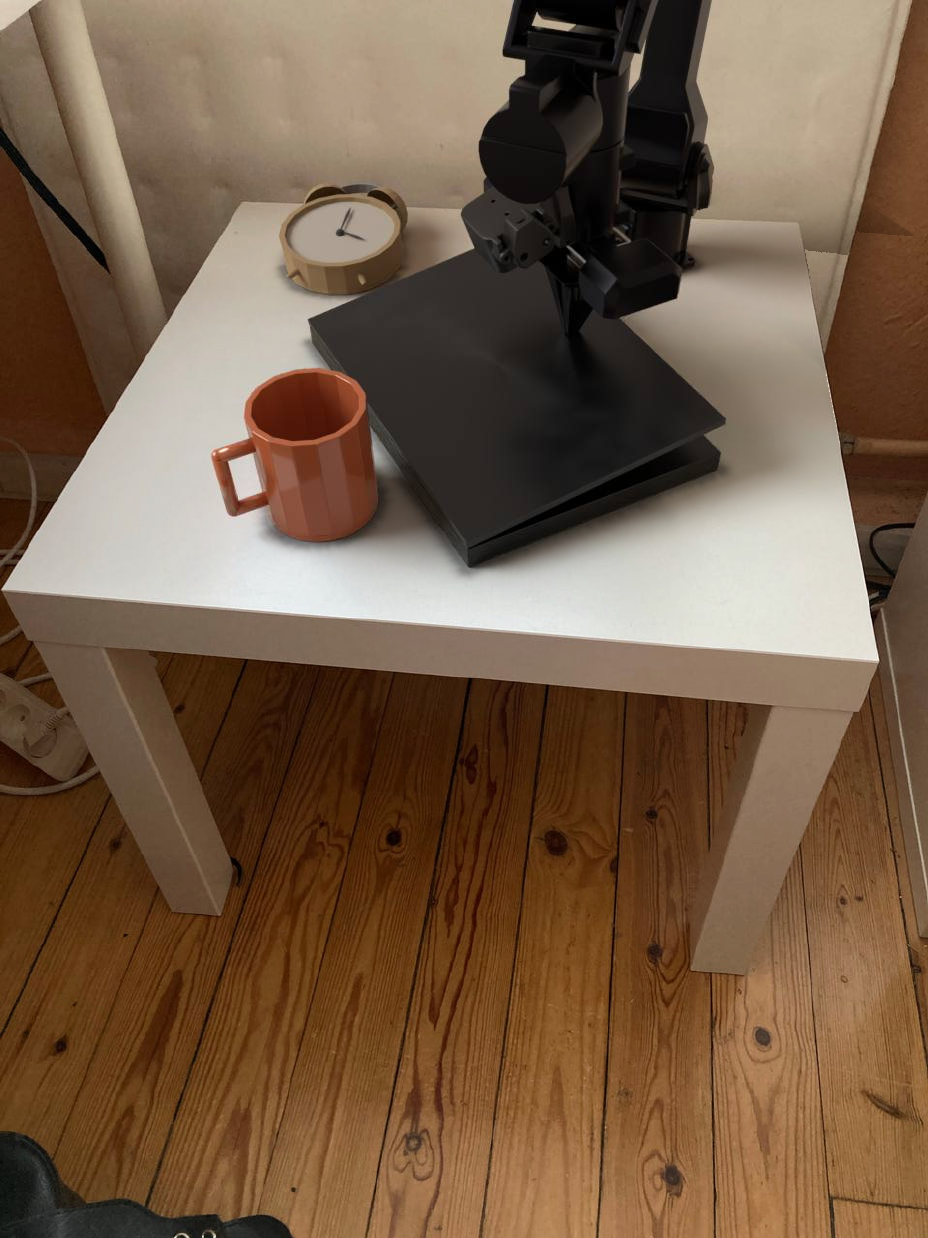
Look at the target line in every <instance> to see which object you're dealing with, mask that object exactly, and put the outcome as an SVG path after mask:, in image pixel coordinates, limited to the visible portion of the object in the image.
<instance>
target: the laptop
mask: <svg viewBox="0 0 928 1238" xmlns="http://www.w3.org/2000/svg"><path fill="white" fill-rule="evenodd" d="M309 332H310V337H311V342H312V343H311V344H312V346H314V348H315V349H316V350H317V352H318V354H319V356H321V358H322V359H323V361H324V362H325V364H326V365H327V366H328V368H329V370H333V371H338V372H341V373H343V372H342V370H341V369H340V368H339V366H338V365H337V363H336V362H335V361H334V359H333V358H332V356H331V355H330V353H329V352H328V351H327V349H326V348H325V346H324V345H323V344H322V342H321V341H320V339H319V338H318V336H317V335H316V334H315V332H314V331H313V329H312V328H311V327H310V326H309ZM343 374H344V373H343ZM368 414H369V422H370V429H371V430H372V431H373V432H374V434H375V436H376V437H377V438H378V440H379V441H380V442H381V444H382V445H383V447H384V448H385V450H386V451H387V452H388V454H389V455H390V457H391V458H392V460H393V461H394V463H395V464H396V465H397V467H398V468H399V470H400V471H401V473H402V474H403V475H404V477H405V478H406V480H407V482H409V484H410V486H411V487H412V489H413V490H414V491H415V493H416V494H417V496H418V497H419V498H420V500H421V502H422V503H423V504H424V505H425V507H426V508H427V510H428V511H429V513H430V514H431V516H432V517H433V519H434V520H435V521H436V523H437V525H438V526H439V527H440V529H441V530H442V531H443V533H444V534H445V536H446V537H447V539H448V540H449V542H450V543H451V544H452V546H453V548H454V549H455V551H457V553H458V554H459V556H460V557H461V559H462V560H463V562H464V563H465V564H466V566H467V568H472V567H473V566H476V565H478V564H482V563H484V562H486V561H489V560H491V559H494V558H496V557H500V556H502V555H504V554H506V553H509V552H511V551H514V550H517V549H520V548H521V547H525V546H527V545H529V544H533V543H535V542H538V541H540V540H543V539H545V538H548V537H550V536H553V535H556V534H558V533H560V532H563V531H567V530H568V529H570V528H574V527H576V526H578V525H581V524H582V523H583V524H584V523H586V522H589V521H591V520H594V519H596V518H599V517H601V516H603V515H607V514H609V513H612V512H614V511H617V510H620V509H621V508H625V507H627V506H630V505H632V504H635V503H638V502H640V501H642V500H645V499H648V498H650V497H653V496H656V495H657V494H660V493H663V492H665V491H669V490H671V489H674V488H675V487H678V486H681V485H683V484H686V483H689V482H690V481H694V480H696V479H699V478H701V477H703V476H706V475H708V474H712V473H713V472H716V471H718V469H719V465H720V461H721V457H722V451H721V450H720V449H719V448H718V447H717V446H716V445H715V444H713V442H712V441H711V440H709V438H707V437H706V435H705V434H704V435H702V436H700V437H698V438H696V439H694V440H692V441H690V442H688V443H686V444H684V445H682V446H680V447H677V448H675V449H673V450H671V451H669V452H667V453H665V454H663V455H661V456H659V457H657V458H655V459H653V460H651V461H648V462H646V463H644V464H642V465H640V466H638V467H636V468H634V469H632V470H630V471H628V472H626V473H624V474H621V475H619V476H617V477H615V478H613V479H611V480H609V481H607V482H605V483H603V484H601V485H599V486H597V487H595V488H592V489H590V490H588V491H586V492H584V493H582V494H580V495H578V496H576V497H574V498H572V499H570V500H568V501H565V502H563V503H561V504H559V505H557V506H555V507H553V508H551V509H549V510H547V511H545V512H543V513H541V514H539V515H536V516H534V517H532V518H530V519H528V520H526V521H524V522H522V523H520V524H518V525H516V526H514V527H512V528H509V529H507V530H505V531H503V532H501V533H499V534H497V535H495V536H493V537H491V538H489V539H487V540H485V541H483V542H480V543H478V544H476V545H474V546H472V547H470V548H467V547H466V546H465V544H464V543H463V542H462V540H461V539H460V537H459V536H458V534H457V533H456V532H455V530H454V529H453V527H452V526H451V525H450V523H449V522H448V520H447V519H446V517H445V516H444V515H443V513H442V512H441V510H440V509H439V508H438V506H437V505H436V503H435V502H434V501H433V499H432V498H431V496H430V495H429V493H428V492H427V491H426V489H425V488H424V486H423V485H422V484H421V482H420V481H419V479H418V478H417V476H416V475H415V474H414V472H413V471H412V469H411V468H410V467H409V465H408V464H407V462H406V461H405V460H404V458H403V457H402V455H401V454H400V452H399V451H398V450H397V448H396V447H395V445H394V444H393V443H392V441H391V440H390V438H389V437H388V435H387V434H386V433H385V431H384V430H383V428H382V427H381V426H380V424H379V423H378V421H377V420H376V418H375V417H374V416H373V414H372V413H371V411H370V410H369V409H368Z"/></svg>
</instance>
